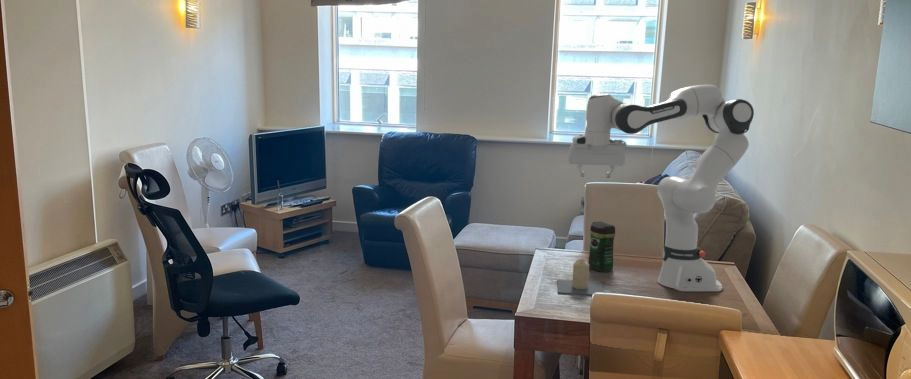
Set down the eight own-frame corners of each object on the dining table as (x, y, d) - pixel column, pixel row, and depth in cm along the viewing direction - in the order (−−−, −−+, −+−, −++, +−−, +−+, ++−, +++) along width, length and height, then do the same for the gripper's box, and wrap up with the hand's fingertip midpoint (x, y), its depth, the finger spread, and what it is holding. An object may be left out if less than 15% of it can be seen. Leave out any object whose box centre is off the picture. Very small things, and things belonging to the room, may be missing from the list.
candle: (587, 290, 245) (589, 262, 243) (572, 288, 246) (573, 261, 244) (587, 285, 250) (589, 258, 248) (572, 284, 251) (573, 257, 249)
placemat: (601, 283, 254) (601, 282, 254) (604, 296, 240) (604, 295, 240) (557, 281, 256) (557, 279, 255) (558, 293, 242) (558, 292, 242)
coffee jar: (616, 271, 270) (619, 224, 266) (600, 273, 266) (603, 226, 263) (600, 264, 278) (603, 219, 275) (584, 266, 274) (587, 220, 271)
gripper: (625, 138, 251) (623, 176, 254) (568, 137, 254) (567, 174, 257) (627, 140, 245) (625, 179, 248) (569, 139, 248) (567, 177, 250)
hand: (595, 176), depth 252 cm, fingers open, 8 cm apart
